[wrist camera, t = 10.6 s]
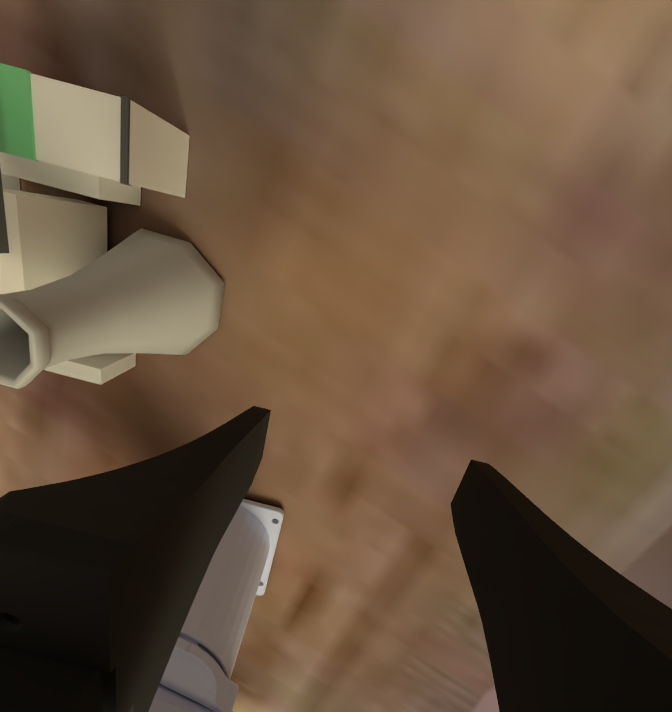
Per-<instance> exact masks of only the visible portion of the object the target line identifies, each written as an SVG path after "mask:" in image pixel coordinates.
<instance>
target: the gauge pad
mask: <svg viewBox="0 0 672 712" xmlns="http://www.w3.org/2000/svg"><path fill="white" fill-rule="evenodd" d="M105 253H107V207H105V206H101V205H97V204H93V203H90V202H86V201H82V200H77V199H71V198H64V197H57V196H51V195H44V194H37V193H30V192H24V191H17V190H10V189H3V187H2V177H1V168H0V294H7V293H13V292H19V291H25V290H32V289H34V288H37V287H40V286H43V285H45V284H48V283H51V282H54V281H56V280H59V279H62V278H65V277H67V276H70V275H71V274H73V273H75V272H76V271H78V270H79V269H81V268H83V267H84V266H86V265H87V264H89V263H91V262H92V261H94V260H95V259H97V258H99V257H100V256H102V255H103V254H105Z"/></svg>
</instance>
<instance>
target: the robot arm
mask: <svg viewBox="0 0 672 712" xmlns="http://www.w3.org/2000/svg"><path fill="white" fill-rule="evenodd" d="M270 411H271V410H268V409H264V408H260V407H256V406H253V407H251V408H249V409H248V410H246V411H244V412H243V413H241V414H240V415H238V416H236V417H235V418H233V419H232V420H230V421H228V422H227V423H225V424H223V425H222V426H220V427H218V428H216V429H215V430H213V431H211V432H209V433H207V434H205V435H204V436H202V437H200V438H198V439H196V440H194V441H192V442H190V443H188V444H185V445H183V446H181V447H179V448H176V449H174V450H171V451H169V452H166V453H164V454H161V455H159V456H156V457H153V458H150V459H147V460H144V461H141V462H138V463H135V464H132V465H129V466H126V467H123V468H119V469H116V470H112V471H108V472H105V473H101V474H97V475H93V476H89V477H84V478H80V479H76V480H71V481H66V482H61V483H56V484H50V485H45V486H39V487H34V488H28V489H23V490H16V491H10V492H8V493H7V494H5V495H4V496H2V497H1V498H0V712H233V711H232V709H233V705H234V702H235V698H236V695H237V691H238V687H239V686H238V685H237V684H236V683H234V682H232V681H231V680H230V677H231V674H232V671H233V668H234V664H235V661H236V658H237V655H238V651H239V648H240V645H241V642H242V638H243V635H244V632H245V629H246V625H247V622H248V619H249V616H250V612H251V609H252V606H253V603H254V599H255V596H256V595H263V594H264V592H265V589H266V585H267V581H268V577H269V573H270V569H271V565H272V561H273V557H274V553H275V549H276V545H277V541H278V537H279V533H280V529H281V525H282V521H283V517H284V511H283V510H282V509H280V508H277V507H274V506H270V505H266V504H262V503H258V502H254V501H250V500H247V499H244V497H245V495H246V493H247V491H248V489H249V488H250V486H251V484H252V482H253V479H254V477H255V474H256V472H257V469H258V467H259V464H260V462H261V459H262V455H263V450H264V444H265V439H266V433H267V428H268V422H269V417H270ZM451 510H452V516H453V522H454V528H455V533H456V537H457V540H458V544H459V547H460V550H461V554H462V557H463V560H464V563H465V567H466V570H467V573H468V576H469V579H470V583H471V586H472V589H473V592H474V596H475V599H476V602H477V605H478V609H479V613H480V616H481V620H482V624H483V629H484V633H485V638H486V643H487V647H488V652H489V657H490V662H491V667H492V672H493V678H494V683H495V688H496V694H497V699H498V704H499V711H500V712H672V609H671V608H669V607H668V606H666V605H664V604H663V603H662V602H660V601H659V600H657V599H656V598H654V597H653V596H651V595H650V594H648V593H647V592H645V591H644V590H642V589H641V588H639V587H638V586H636V585H635V584H634V583H632V582H631V581H629V580H628V579H626V578H625V577H624V576H622V575H621V574H619V573H618V572H617V571H615V570H614V569H612V568H611V567H610V566H608V565H607V564H606V563H605V562H603V561H602V560H601V559H599V558H598V557H597V556H595V555H594V554H593V553H591V552H590V551H589V550H587V549H586V548H585V547H584V546H582V545H581V544H580V543H579V542H577V541H576V540H575V539H574V538H573V537H571V536H570V535H569V534H568V533H567V532H565V531H564V530H563V529H562V528H561V527H559V526H558V525H557V524H556V523H555V522H554V521H552V520H551V519H550V518H549V517H548V516H547V515H546V514H544V513H543V512H542V511H541V510H540V509H539V508H538V507H537V506H536V505H534V504H533V503H532V502H531V501H530V500H529V499H528V498H527V497H526V496H525V495H524V494H522V493H521V492H520V491H519V490H518V489H517V488H516V487H515V486H514V485H513V484H512V483H510V482H509V481H508V480H507V479H506V478H505V477H504V476H503V475H501V474H500V473H499V472H498V471H497V470H496V469H494V468H493V467H492V466H491V465H489V464H487V463H483V462H479V461H475V460H471V461H470V463H469V465H468V467H467V470H466V472H465V474H464V476H463V478H462V481H461V483H460V485H459V487H458V489H457V492H456V494H455V496H454V498H453V500H452V502H451ZM275 519H277V520H275Z"/></svg>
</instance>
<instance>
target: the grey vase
mask: <svg viewBox="0 0 672 712" xmlns="http://www.w3.org/2000/svg"><path fill="white" fill-rule="evenodd" d="M224 285H225V283H224V282H223V281H222V280H221V278H220V277H219V276H218V275H217V274H216V272H215V271H214V270H213V269H212V268H211V267H210V265H209V264H208V263H207V262H206V261H205V259H204V258H203V257H202V256H201V255H200V253H199V252H198V251H197V250H196V249H195V247H194V246H193V245H192V244H191V243H190V242H187V241H183V240H180V239H177V238H173V237H170V236H166V235H163V234H160V233H156V232H153V231H149V230H146V229H142V228H141V229H139V230H138V231H136V232H135V233H133V234H132V235H130V236H129V237H127V238H126V239H125V240H123V241H122V242H121V243H119V244H118V245H116V246H115V247H114V248H112V249H111V250H109V251H108V252H107V253H105V254H103V255H102V256H100V257H99V258H97V259H95V260H94V261H92V262H91V263H89V264H87V265H86V266H84V267H83V268H81V269H79V270H78V271H76V272H75V273H73V274H71V275H70V276H67V277H65V278H62V279H59V280H56V281H54V282H51V283H48V284H45V285H43V286H40V287H37V288H34V289H32V290H25V291H19V292H13V293H7V294H0V384H1V385H5V386H8V387H12V388H15V389H19V388H22V387H24V386H26V385H27V384H29V383H30V382H31V381H32V380H33V379H34V378H35V377H36V376H37V375H38V374H39V373H40V372H41V371H42V370H43V369H45V368H47V367H50V366H53V365H55V364H58V363H61V362H63V361H66V360H71V359H77V358H82V357H87V356H93V355H98V354H104V353H153V354H174V355H187V354H188V353H189V352H191V351H192V350H193V349H194V348H195V347H197V346H198V345H199V344H200V343H201V342H203V341H204V340H205V339H206V338H207V337H209V336H210V335H211V334H212V333H213V332H215V331H216V330H217V329H218V324H219V318H220V311H221V305H222V298H223V292H224Z"/></svg>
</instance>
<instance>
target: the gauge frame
mask: <svg viewBox="0 0 672 712" xmlns="http://www.w3.org/2000/svg"><path fill="white" fill-rule="evenodd" d="M189 138H190V136H189V135H188V134H186V133H184V132H183V131H181V130H179V129H178V128H176V127H174V126H173V125H171V124H170V123H168V122H166V121H165V120H163V119H161V118H160V117H158V116H156V115H155V114H153V113H151V112H150V111H148V110H147V109H145V108H143V107H142V106H140V105H138V104H137V103H135V102H133V99H131V98H129V97H127V96H123V95H121V97H118V96H115V95H111V94H107V93H103V92H99V91H96V90H92V89H88V88H84V87H81V86H77V85H73V84H69V83H65V82H62V81H58V80H54V79H50V78H47V77H43V76H39V75H35V74H33V73H32V72H30V71H28V70H25V69H21V68H17V67H14V66H10V65H6V64H2V63H0V168H1V177H2V187H3V189H10V190H17V191H20V180H19V178H21V179H24V180H28V181H32V182H36V183H40V184H43V185H47V186H51V187H55V188H59V189H62V190H66V191H70V192H74V193H78V194H81V195H85V196H89V197H93V198H97V199H101V200H107V201H114V202H120V203H126V204H132V205H138V206H140V201H141V187H142V188H146V189H150V190H154V191H158V192H163V193H167V194H171V195H175V196H179V197H183V198H185V192H186V178H187V165H188V151H189ZM135 365H136V353H104V354H98V355H93V356H87V357H82V358H77V359H71V360H66V361H63V362H61V363H58V364H55V365H53V366H50V367H47V368H45V369H43V370H46V371H50V372H54V373H57V374H61V375H65V376H69V377H73V378H77V379H80V380H84V381H88V382H92V383H96V384H100V385H102V384H103V383H105V382H107V381H109V380H111V379H113V378H114V377H116V376H118V375H120V374H122V373H124V372H126V371H127V370H129V369H131V368H133V367H135Z"/></svg>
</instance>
